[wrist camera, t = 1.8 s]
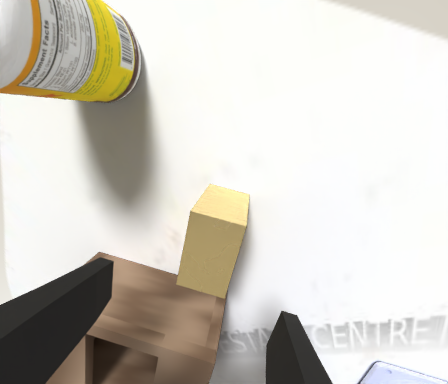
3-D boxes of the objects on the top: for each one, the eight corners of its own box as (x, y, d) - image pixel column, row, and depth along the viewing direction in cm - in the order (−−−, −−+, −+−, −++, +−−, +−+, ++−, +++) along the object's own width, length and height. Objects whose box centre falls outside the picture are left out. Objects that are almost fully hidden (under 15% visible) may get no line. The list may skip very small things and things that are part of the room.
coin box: (227, 290, 19) (214, 364, 13) (205, 363, 22) (187, 446, 16) (99, 251, 19) (34, 306, 14) (97, 328, 23) (44, 397, 17)
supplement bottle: (52, 60, 14) (-349, -57, 5) (94, -18, 13) (-406, -439, 3) (114, 122, 15) (-126, 126, 6) (162, 57, 13) (-70, -97, 4)
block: (249, 194, 16) (246, 226, 11) (233, 250, 17) (224, 298, 13) (210, 183, 16) (190, 211, 11) (197, 240, 17) (176, 284, 13)
